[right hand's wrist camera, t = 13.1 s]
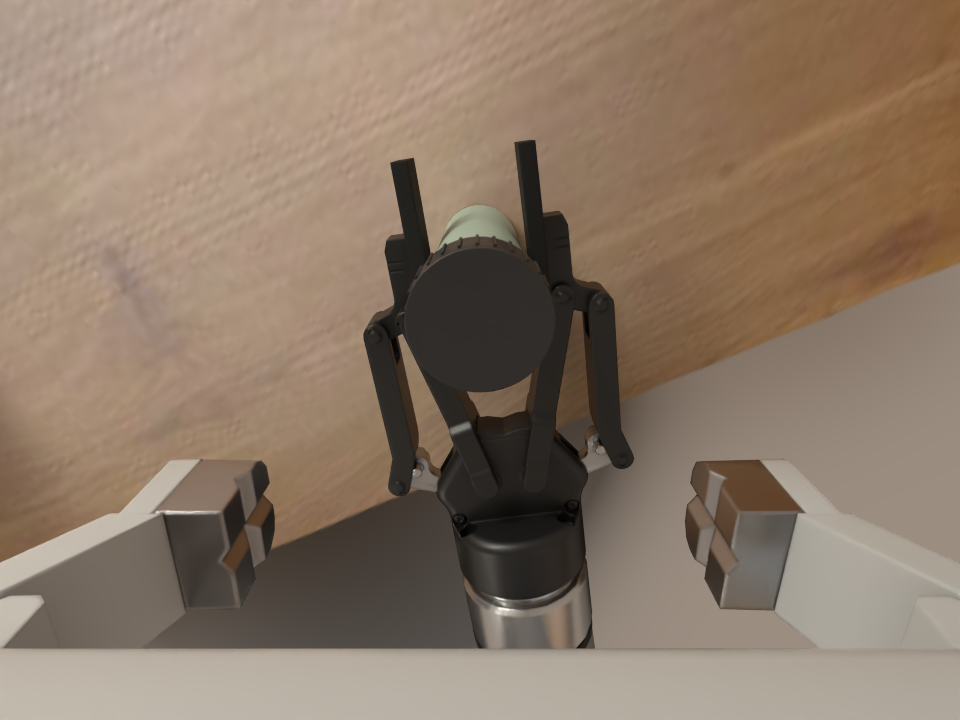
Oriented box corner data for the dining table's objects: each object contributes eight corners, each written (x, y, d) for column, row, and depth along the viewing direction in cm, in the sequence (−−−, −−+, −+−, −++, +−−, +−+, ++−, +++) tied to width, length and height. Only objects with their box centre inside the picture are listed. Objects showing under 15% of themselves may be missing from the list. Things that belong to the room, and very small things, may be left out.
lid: (541, 374, 23) (547, 399, 20) (407, 364, 23) (399, 389, 20) (558, 240, 21) (567, 252, 19) (412, 228, 21) (404, 239, 18)
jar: (512, 281, 35) (535, 382, 21) (441, 275, 35) (414, 373, 21) (520, 208, 34) (550, 262, 19) (445, 201, 33) (419, 251, 19)
